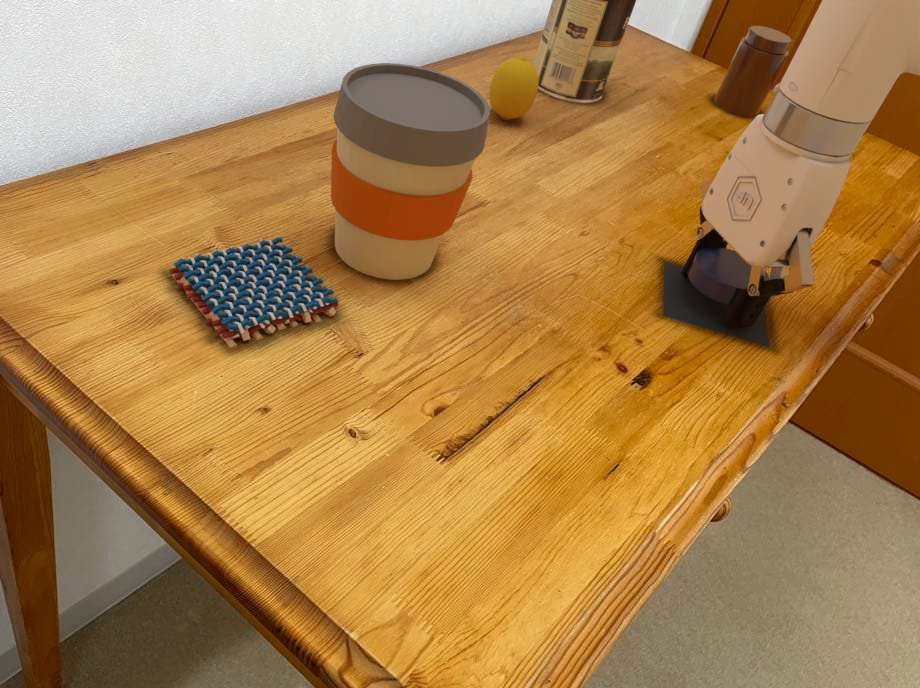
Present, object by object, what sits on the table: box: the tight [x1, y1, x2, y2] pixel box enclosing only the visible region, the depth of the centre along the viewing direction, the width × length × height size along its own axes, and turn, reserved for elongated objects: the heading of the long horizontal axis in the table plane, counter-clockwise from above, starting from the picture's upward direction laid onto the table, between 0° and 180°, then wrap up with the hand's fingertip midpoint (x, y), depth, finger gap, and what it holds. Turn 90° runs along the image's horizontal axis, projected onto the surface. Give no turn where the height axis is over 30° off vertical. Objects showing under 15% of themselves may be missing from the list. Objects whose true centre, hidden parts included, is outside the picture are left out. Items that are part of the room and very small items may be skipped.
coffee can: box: [533, 0, 637, 104], centre depth 110 cm, size 10×10×14 cm
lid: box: [687, 247, 770, 305], centre depth 79 cm, size 7×7×2 cm
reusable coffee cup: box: [330, 62, 491, 281], centre depth 72 cm, size 13×13×15 cm
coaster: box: [662, 260, 771, 349], centre depth 81 cm, size 10×10×1 cm
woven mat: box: [169, 236, 339, 349], centre depth 69 cm, size 10×11×2 cm
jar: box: [713, 25, 792, 119], centre depth 117 cm, size 6×6×11 cm
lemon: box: [489, 55, 539, 121], centre depth 101 cm, size 6×6×8 cm
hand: (715, 298), depth 81 cm, fingers closed on lid, 6 cm apart
